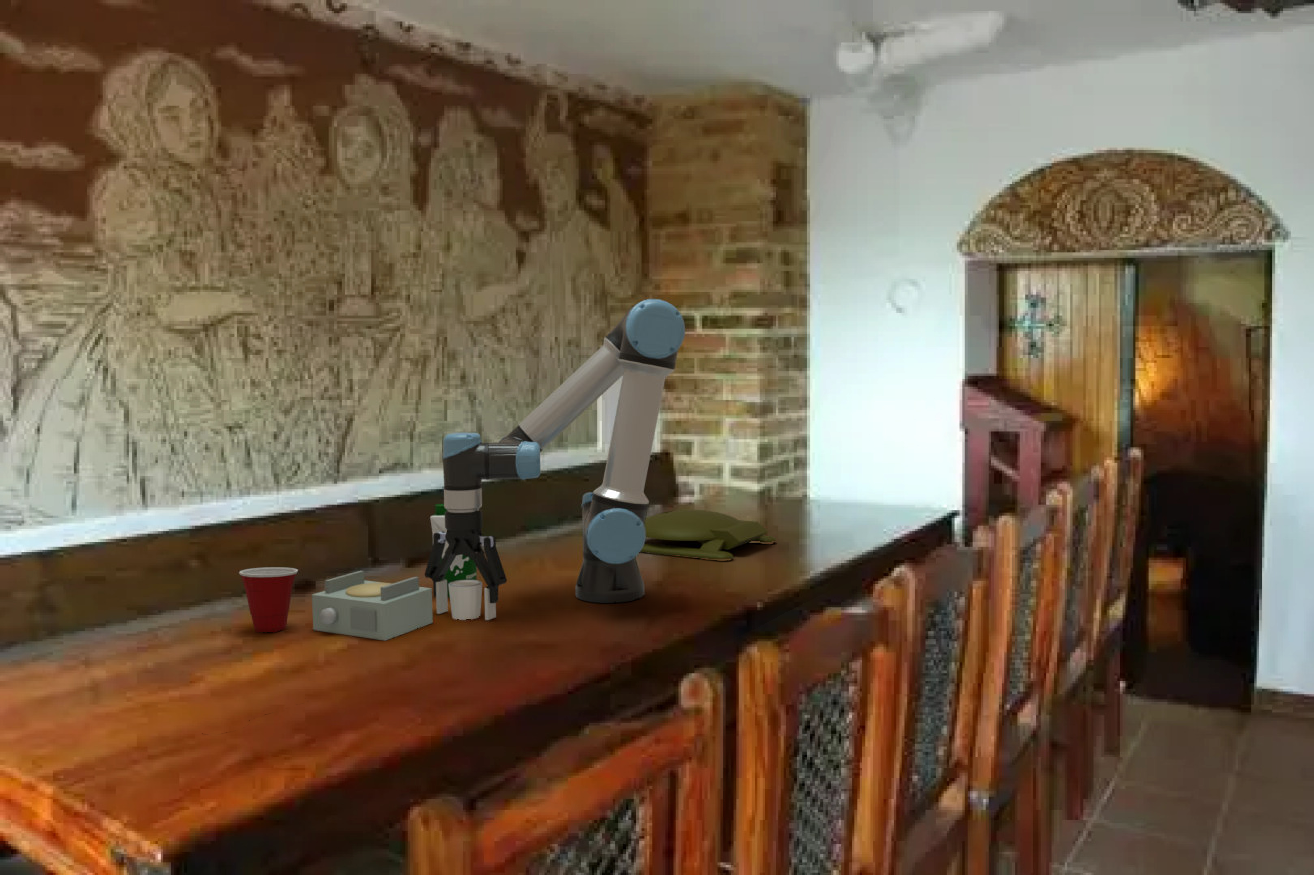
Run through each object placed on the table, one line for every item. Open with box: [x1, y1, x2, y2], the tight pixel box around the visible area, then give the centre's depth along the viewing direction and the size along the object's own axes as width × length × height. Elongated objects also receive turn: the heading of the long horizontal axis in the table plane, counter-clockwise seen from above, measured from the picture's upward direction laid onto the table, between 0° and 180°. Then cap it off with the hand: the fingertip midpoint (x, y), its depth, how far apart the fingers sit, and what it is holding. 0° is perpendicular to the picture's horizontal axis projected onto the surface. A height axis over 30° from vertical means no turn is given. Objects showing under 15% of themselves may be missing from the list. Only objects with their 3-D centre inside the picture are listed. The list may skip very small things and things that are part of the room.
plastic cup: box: [238, 566, 299, 633], centre depth 208 cm, size 11×11×12 cm
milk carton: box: [429, 503, 478, 598], centre depth 236 cm, size 9×9×20 cm
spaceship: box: [640, 509, 777, 560], centre depth 289 cm, size 35×31×10 cm
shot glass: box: [448, 579, 483, 621], centre depth 217 cm, size 7×7×7 cm
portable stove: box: [311, 570, 433, 641], centre depth 209 cm, size 18×16×10 cm
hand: (466, 615), depth 217 cm, fingers open, 11 cm apart
